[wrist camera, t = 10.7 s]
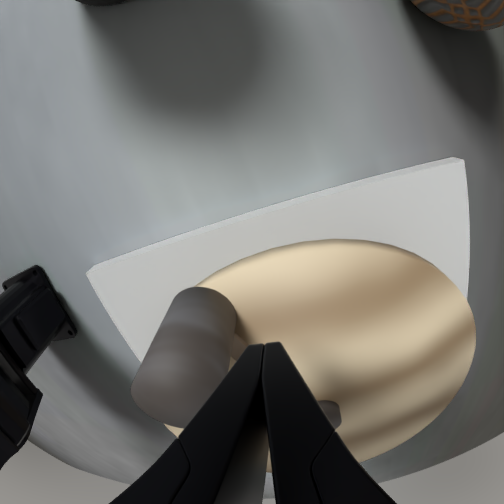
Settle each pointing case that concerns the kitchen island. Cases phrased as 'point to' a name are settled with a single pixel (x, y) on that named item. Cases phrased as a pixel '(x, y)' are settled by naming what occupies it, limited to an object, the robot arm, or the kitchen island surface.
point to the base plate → (295, 240)
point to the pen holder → (100, 2)
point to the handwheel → (321, 337)
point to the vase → (464, 13)
